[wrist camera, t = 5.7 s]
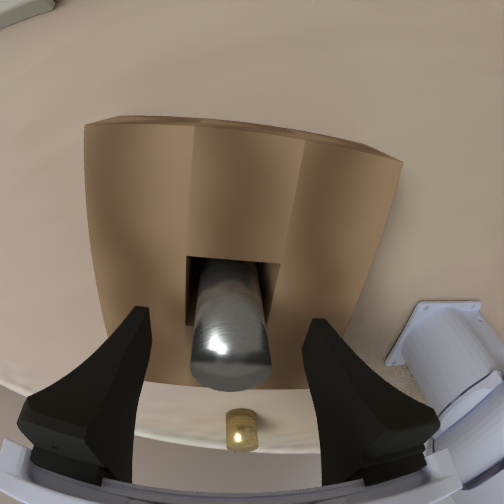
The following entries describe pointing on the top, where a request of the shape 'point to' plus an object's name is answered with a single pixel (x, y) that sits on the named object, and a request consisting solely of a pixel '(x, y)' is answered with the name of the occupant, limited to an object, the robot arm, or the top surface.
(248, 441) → the short pin
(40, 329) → the top surface
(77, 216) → the top surface
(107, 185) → the hole block
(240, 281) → the tall pin
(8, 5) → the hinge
